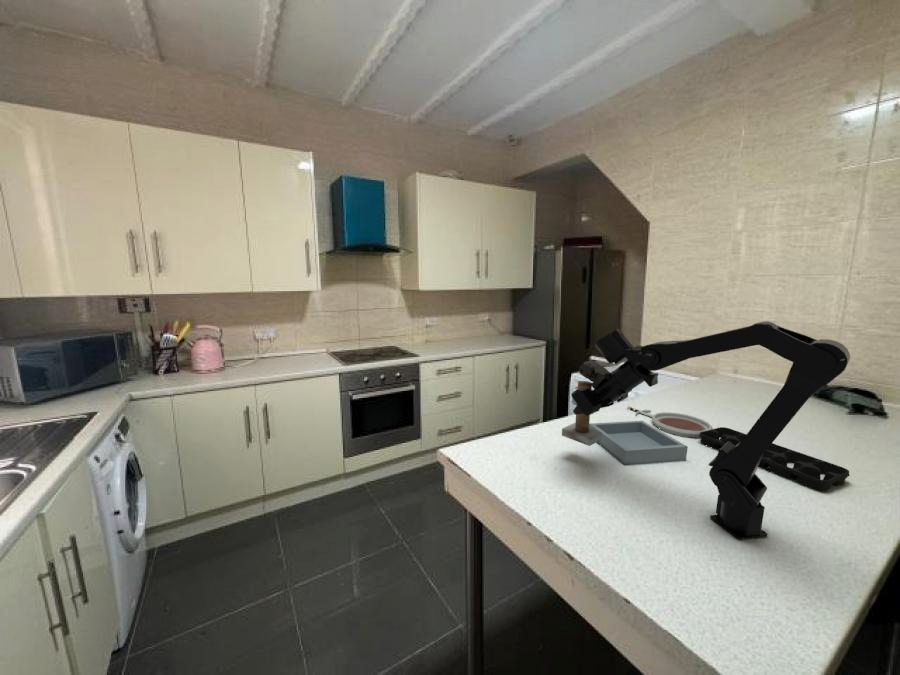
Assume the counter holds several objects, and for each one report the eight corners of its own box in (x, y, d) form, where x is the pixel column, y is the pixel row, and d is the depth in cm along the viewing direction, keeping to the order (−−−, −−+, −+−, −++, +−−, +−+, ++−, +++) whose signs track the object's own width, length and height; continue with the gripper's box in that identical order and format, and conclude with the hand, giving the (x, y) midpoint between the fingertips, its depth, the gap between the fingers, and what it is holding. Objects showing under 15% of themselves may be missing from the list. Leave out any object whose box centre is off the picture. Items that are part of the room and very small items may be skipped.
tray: (685, 460, 96) (687, 446, 95) (624, 465, 93) (625, 450, 93) (641, 432, 113) (642, 420, 113) (588, 435, 111) (589, 423, 110)
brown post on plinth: (601, 439, 93) (605, 384, 91) (589, 446, 90) (593, 388, 87) (574, 429, 99) (577, 377, 97) (561, 435, 96) (564, 381, 93)
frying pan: (642, 400, 138) (724, 424, 114) (641, 407, 139) (723, 433, 114) (612, 407, 130) (694, 434, 106) (612, 415, 131) (693, 444, 106)
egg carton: (838, 501, 79) (841, 485, 79) (688, 449, 103) (689, 436, 103) (852, 477, 89) (855, 463, 88) (712, 434, 113) (714, 423, 113)
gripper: (619, 348, 94) (579, 379, 104) (581, 357, 82) (539, 392, 92) (648, 383, 89) (603, 413, 99) (612, 398, 77) (564, 430, 87)
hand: (578, 411), depth 95 cm, fingers closed on brown post on plinth, 3 cm apart
